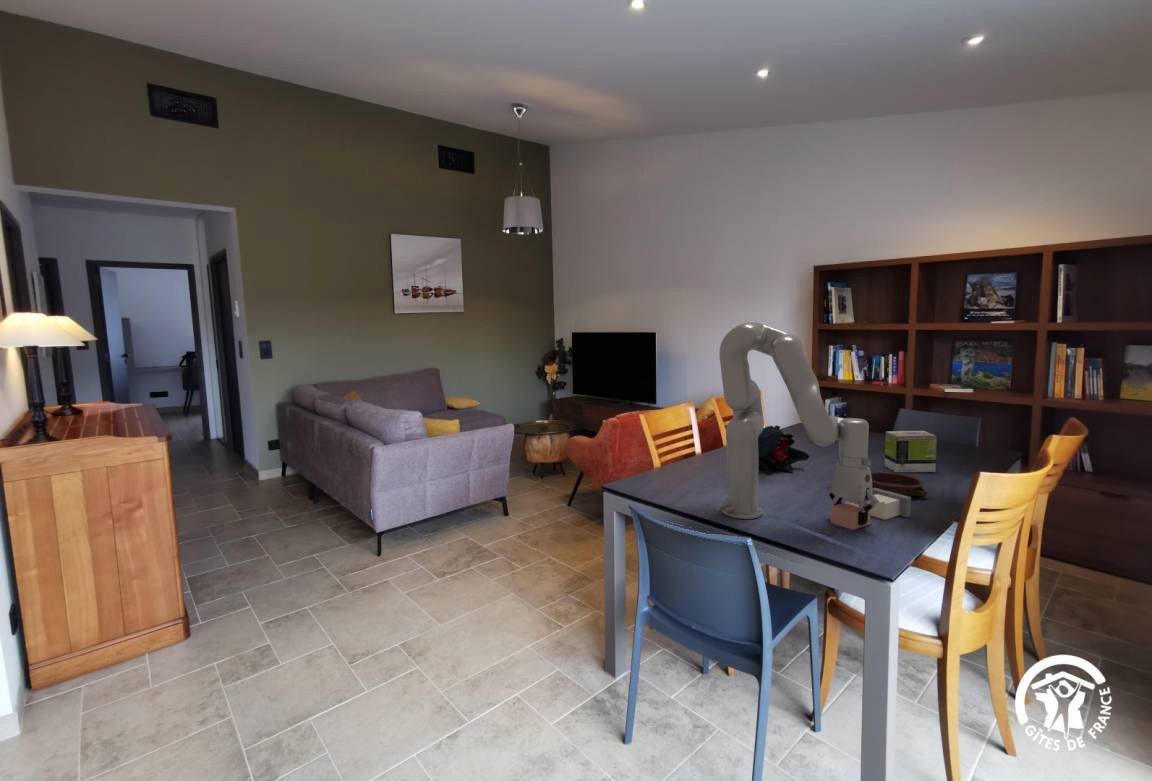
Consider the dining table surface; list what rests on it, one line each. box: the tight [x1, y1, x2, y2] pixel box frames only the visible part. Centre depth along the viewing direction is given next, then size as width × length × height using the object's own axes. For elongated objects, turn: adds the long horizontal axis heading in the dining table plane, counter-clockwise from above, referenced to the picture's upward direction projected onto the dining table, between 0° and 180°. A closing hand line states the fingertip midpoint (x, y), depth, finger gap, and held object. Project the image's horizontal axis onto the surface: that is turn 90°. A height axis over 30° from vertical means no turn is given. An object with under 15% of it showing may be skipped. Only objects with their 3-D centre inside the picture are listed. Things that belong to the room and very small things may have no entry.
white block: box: [863, 488, 912, 521], centre depth 175 cm, size 12×12×6 cm
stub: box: [830, 500, 871, 531], centre depth 167 cm, size 8×7×5 cm
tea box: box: [884, 430, 938, 473], centre depth 224 cm, size 15×10×15 cm, turn 84°
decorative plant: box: [758, 424, 810, 474], centre depth 226 cm, size 21×26×30 cm
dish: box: [871, 471, 928, 497], centre depth 198 cm, size 18×22×5 cm
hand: (850, 519), depth 167 cm, fingers closed on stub, 7 cm apart
